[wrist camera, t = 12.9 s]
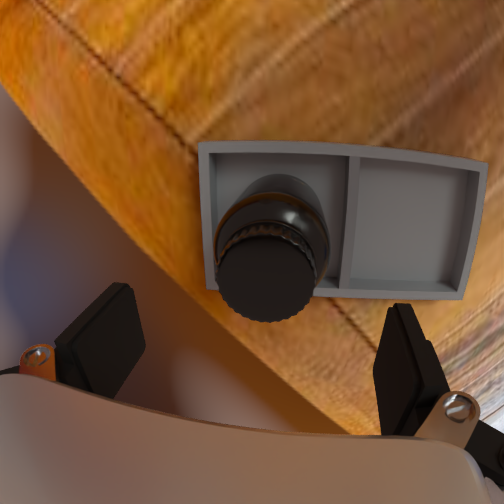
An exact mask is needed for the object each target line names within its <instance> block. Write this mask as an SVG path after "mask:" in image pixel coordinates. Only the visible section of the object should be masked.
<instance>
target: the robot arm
mask: <svg viewBox="0 0 504 504" xmlns="http://www.w3.org/2000/svg"><path fill="white" fill-rule="evenodd" d="M54 342H55V344H56V348H55V349H53V348H52V347H51V346H49V345H47V344H40V345H35V346H32V347H30V348H28V349H27V350H26V351H25V352H24V353H23V354H22V356H21V358H20V365H19V366H15V367H12V368H8V369H5V370H1V371H0V504H504V434H503V433H502V432H500V431H498V430H496V429H495V428H493V427H491V426H489V425H488V424H486V423H484V422H482V421H481V420H479V417H480V407H479V404H478V402H477V401H476V400H475V399H474V398H473V397H472V396H470V395H469V394H467V393H464V392H461V391H450V388H449V386H448V383H447V380H446V378H445V375H444V372H443V370H442V367H441V365H440V362H439V360H438V357H437V355H436V352H435V350H434V347H433V345H432V343H431V341H429V340H426V339H425V336H424V334H423V331H422V329H421V327H420V324H419V322H418V320H417V317H416V315H415V313H414V310H413V308H412V306H411V304H404V303H395V304H394V305H393V307H389V308H388V311H387V315H386V319H385V323H384V327H383V331H382V335H381V339H380V343H379V347H378V351H377V354H376V358H375V362H374V365H373V378H374V384H375V391H376V397H377V404H378V412H379V419H380V427H381V435H338V434H316V433H300V432H287V431H275V430H266V429H257V428H249V427H242V426H235V425H228V424H221V423H215V422H209V421H204V420H198V419H193V418H187V417H183V416H178V415H173V414H169V413H164V412H160V411H156V410H152V409H147V408H143V407H139V406H135V405H132V404H128V403H124V402H120V401H117V400H114V399H113V398H114V397H115V395H116V394H117V392H118V391H119V389H120V387H121V386H122V385H123V383H124V381H125V380H126V378H127V377H128V375H129V374H130V372H131V371H132V369H133V368H134V366H135V364H136V363H137V362H138V360H139V358H140V357H141V355H142V354H143V352H144V350H145V345H146V344H145V340H144V335H143V331H142V328H141V322H140V318H139V314H138V309H137V305H136V300H135V295H134V291H133V289H132V288H130V286H129V285H128V284H126V283H116V282H114V283H112V285H110V286H109V287H108V288H107V289H106V290H105V291H104V292H103V293H102V294H101V295H100V296H99V297H98V298H97V299H96V300H95V301H94V302H93V303H92V304H91V305H90V306H88V307H87V308H86V309H85V310H84V311H83V312H82V313H81V314H80V315H79V316H78V317H77V318H76V319H75V320H74V321H73V322H72V323H71V324H70V325H69V326H68V327H67V328H66V329H65V330H64V331H63V332H62V333H61V334H60V335H59V336H58V337H57V338H56V340H55V341H54Z"/></svg>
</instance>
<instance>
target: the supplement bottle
mask: <svg viewBox="0 0 504 504" xmlns="http://www.w3.org/2000/svg"><path fill="white" fill-rule="evenodd" d="M213 248H214V258H215V262H216V265H217V271H216V277H217V281H216V283H217V285H218V287H219V292H220V293H221V295H222V298H223V300H224V301H226V302H227V304H228V306H229V307H231V308H233V309H234V311H235V312H236V313H239V314H241V315H242V316H243V317H246V318H249V319H250V320H257V321H259V322H269V323H271V322H274V321H277V322H279V321H281V320H283V319H289V318H290V317H291V316H294V315H297V313H298V312H299V311H301V310H303V309H304V307H305V305H307V304H308V303H309V301H310V298H311V297H312V296H313V294H314V288H315V287H316V286H317V285H318V284H319V283H320V281H321V280H322V279H323V277H324V275H325V273H326V271H327V269H328V266H329V263H330V258H331V241H330V235H329V231H328V228H327V224H326V220H325V217H324V213H323V210H322V207H321V204H320V201H319V199H318V197H317V195H316V193H315V192H314V191H313V189H312V188H311V187H310V186H309V185H308V184H306V183H305V182H304V181H302V180H301V179H299V178H297V177H294V176H291V175H287V174H270V175H266V176H263V177H261V178H259V179H257V180H255V181H254V182H253V183H251V184H250V185H249V186H248V187H247V188H246V189H245V190H244V191H243V192H242V194H241V195H240V196H239V197H238V198H237V200H236V201H235V202H234V203H233V204H232V205H231V207H230V208H229V209H228V210H227V211H226V213H225V214H224V216H223V217H222V219H221V221H220V222H219V224H218V227H217V229H216V232H215V237H214V245H213Z"/></svg>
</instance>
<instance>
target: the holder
mask: <svg viewBox="0 0 504 504" xmlns="http://www.w3.org/2000/svg"><path fill="white" fill-rule="evenodd" d="M198 158H199V182H200V202H201V220H202V237H203V251H204V265H205V278H206V289H209V290H219V287H218V285H217V283H216V281H217V277H216V271H217V265H216V262H215V258H214V248H213V245H214V237H215V232H216V229H217V227H218V224H219V222H220V221H221V219H222V217H223V216H224V214H225V213H226V211H227V210H228V209H229V208H230V207H231V205H232V204H233V203H234V202H235V201H236V200H237V198H238V197H239V196H240V195H241V194H242V192H243V191H244V190H245V189H246V188H247V187H248V186H249V185H250V184H251V183H253V182H254V181H255V180H257V179H259V178H261V177H263V176H266V175H270V174H287V175H291V176H294V177H297V178H299V179H301V180H302V181H304V182H305V183H306V184H308V185H309V186H310V187H311V188H312V189H313V191H314V192H315V193H316V195H317V197H318V199H319V201H320V204H321V207H322V210H323V213H324V217H325V220H326V224H327V228H328V231H329V235H330V241H331V258H330V263H329V266H328V269H327V271H326V273H325V275H324V277H323V279H322V280H321V281H320V283H319V284H318V285H317V286H316V287H315V288H314V294H313V296H320V297H343V298H371V299H410V300H462V299H463V296H464V292H465V289H466V285H467V281H468V278H469V274H470V270H471V266H472V262H473V257H474V253H475V248H476V244H477V239H478V234H479V229H480V223H481V217H482V211H483V205H484V198H485V191H486V183H487V174H488V163H485V162H482V161H478V160H475V159H469V158H464V157H458V156H452V155H446V154H439V153H433V152H426V151H418V150H411V149H402V148H394V147H384V146H374V145H363V144H350V143H335V142H317V141H289V140H222V141H205V142H199V143H198Z"/></svg>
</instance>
